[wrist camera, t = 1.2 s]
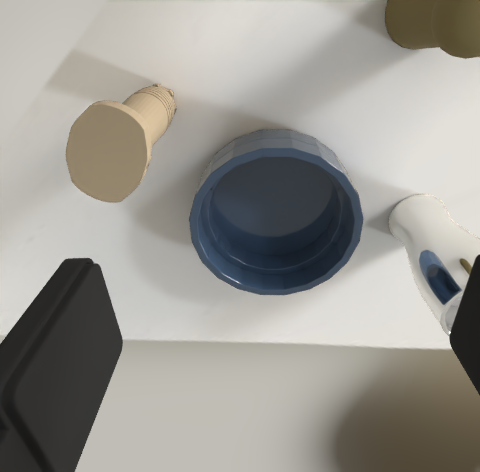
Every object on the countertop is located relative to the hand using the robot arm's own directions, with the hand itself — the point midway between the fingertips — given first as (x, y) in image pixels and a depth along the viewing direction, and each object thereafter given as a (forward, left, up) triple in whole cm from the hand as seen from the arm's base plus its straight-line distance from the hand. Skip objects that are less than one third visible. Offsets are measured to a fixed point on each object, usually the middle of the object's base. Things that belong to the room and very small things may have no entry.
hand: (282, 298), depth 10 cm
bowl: (+12, +1, -29) cm, 32 cm away
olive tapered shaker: (-6, +13, -30) cm, 33 cm away
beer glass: (+14, +17, -30) cm, 37 cm away
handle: (+1, -10, -30) cm, 31 cm away
